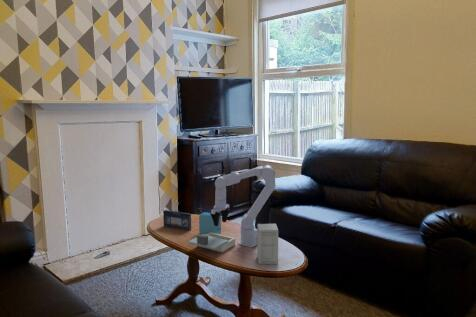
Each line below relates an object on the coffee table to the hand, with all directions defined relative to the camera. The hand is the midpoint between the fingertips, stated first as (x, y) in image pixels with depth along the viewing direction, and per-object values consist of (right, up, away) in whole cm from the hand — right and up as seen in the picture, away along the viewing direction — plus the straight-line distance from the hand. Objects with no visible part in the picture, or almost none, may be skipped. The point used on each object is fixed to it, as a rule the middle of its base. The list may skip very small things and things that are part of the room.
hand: (220, 223), depth 202 cm
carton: (-2, -11, -3) cm, 12 cm away
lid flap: (-6, -8, -10) cm, 14 cm away
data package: (-6, -9, +13) cm, 17 cm away
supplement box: (+24, -14, -21) cm, 34 cm away
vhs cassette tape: (-27, -7, +24) cm, 37 cm away
